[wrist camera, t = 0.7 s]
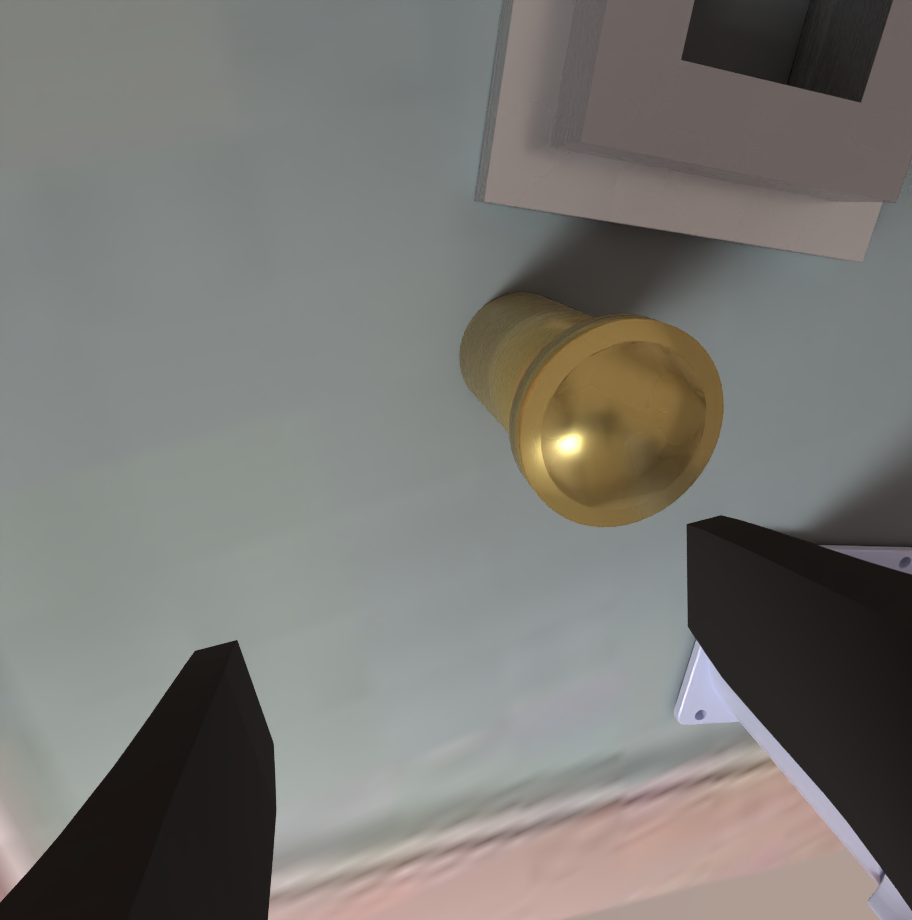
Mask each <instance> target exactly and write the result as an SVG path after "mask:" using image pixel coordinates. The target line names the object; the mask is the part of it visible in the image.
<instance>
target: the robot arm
mask: <svg viewBox="0 0 912 920" xmlns="http://www.w3.org/2000/svg"><path fill="white" fill-rule="evenodd" d="M687 591H688V627H689V629H690V631H691V632H692V634H693V635H694V637H695V638H696V642H695V645H694V649H693V652H692V655H691V658H690V661H689V664H688V668H687V671H686V674H685V677H684V680H683V683H682V687H681V690H680V693H679V696H678V699H677V702H676V706H675V709H674V716H675V717H676V719H677V720H678V722H679V723H681V724H684V725H690V724H707V723H724V722H740V723H741V724H742V725H743V726H744V727H745V728H746V730H747V731H748V732H749V733H750V734H751V736H752V737H753V738H754V739H755V740H756V741H757V743H758V744H759V745H760V746H761V747H762V748H763V750H764V751H765V752H766V753H767V754H768V756H769V757H770V758H771V759H772V760H773V761H774V763H775V764H776V765H777V766H778V767H779V769H780V770H781V771H782V772H783V773H784V774H785V776H786V777H787V778H788V779H789V780H790V782H791V783H792V784H793V785H794V786H795V787H796V789H797V790H798V791H799V792H800V793H801V795H802V796H803V797H804V798H805V799H806V800H807V802H808V803H809V804H810V805H811V806H812V808H813V809H814V810H815V811H816V812H817V813H818V815H819V816H820V817H821V818H822V819H823V821H824V822H825V823H826V824H827V825H828V826H829V828H830V829H831V830H832V831H833V832H834V834H835V835H836V836H837V837H838V838H839V839H840V841H841V842H842V843H843V844H844V845H845V846H846V848H847V849H848V850H849V851H850V852H851V854H852V855H853V856H854V857H855V858H856V859H857V861H858V862H859V863H860V864H861V865H862V866H863V868H864V869H865V870H866V871H867V872H868V874H869V875H870V876H871V877H872V878H873V879H874V881H875V882H876V883H877V884H878V885H879V887H878V888H877V890H876V891H875V893H873V895H872V896H871V897H870V898H869V899H868V905H869V906H870V907H871V909H872V910H873V911H874V912H875V914H876V915H877V916H878V917H879V919H880V920H912V547H879V546H836V545H816V544H813V543H809V542H806V541H803V540H800V539H797V538H794V537H791V536H788V535H785V534H782V533H779V532H776V531H773V530H770V529H767V528H764V527H761V526H758V525H755V524H751V523H748V522H745V521H741V520H737V519H734V518H730V517H726V516H717V517H713V518H709V519H705V520H701V521H697V522H694V523H690V524H687ZM275 821H276V785H275V762H274V743H273V740H272V737H271V735H270V732H269V729H268V726H267V723H266V720H265V718H264V715H263V712H262V709H261V706H260V703H259V701H258V698H257V695H256V692H255V689H254V686H253V683H252V681H251V678H250V675H249V672H248V669H247V666H246V664H245V661H244V658H243V655H242V652H241V649H240V646H239V644H238V641H237V640H236V641H232V642H228V643H224V644H220V645H216V646H212V647H209V648H205V649H201V650H197V651H195V652H194V653H193V655H192V656H191V657H190V659H189V660H188V661H187V663H186V664H185V666H184V667H183V669H182V670H181V671H180V673H179V674H178V676H177V677H176V679H175V680H174V681H173V683H172V684H171V686H170V687H169V689H168V690H167V692H166V693H165V695H164V696H163V697H162V699H161V700H160V702H159V703H158V705H157V706H156V708H155V709H154V710H153V712H152V713H151V715H150V716H149V718H148V719H147V721H146V722H145V723H144V725H143V726H142V728H141V729H140V730H139V732H138V733H137V735H136V736H135V737H134V739H133V740H132V742H131V743H130V744H129V746H128V747H127V749H126V750H125V751H124V753H123V754H122V755H121V757H120V758H119V760H118V761H117V762H116V764H115V765H114V767H113V768H112V769H111V770H110V772H109V773H108V774H107V775H106V777H105V778H104V779H103V781H102V782H101V783H100V784H99V786H98V787H97V788H96V790H95V791H94V792H93V793H92V795H91V796H90V797H89V798H88V800H87V801H86V802H85V804H84V805H83V806H82V807H81V809H80V810H79V811H78V812H77V814H76V815H75V816H74V818H73V819H72V820H71V821H70V823H69V824H68V825H67V827H66V828H65V829H64V830H63V832H62V833H61V834H60V835H59V836H58V838H57V839H56V840H55V841H54V842H53V844H52V845H51V846H50V847H49V848H48V850H47V851H46V852H45V853H44V854H43V855H42V856H41V858H40V859H39V860H38V861H37V862H36V863H35V865H34V866H33V867H32V868H31V869H30V870H29V871H28V873H27V874H26V875H25V876H24V877H23V878H22V879H21V880H20V881H19V883H18V884H17V885H16V886H15V887H14V888H13V889H12V890H11V891H10V892H9V894H8V895H7V896H6V897H5V898H4V899H3V900H2V901H1V902H0V920H268V909H269V897H270V885H271V873H272V861H273V848H274V835H275Z"/></svg>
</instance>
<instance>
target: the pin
mask: <svg viewBox="0 0 912 920" xmlns="http://www.w3.org/2000/svg"><path fill="white" fill-rule="evenodd" d="M460 367H461V372H462V375H463V378H464V380H465V383H466V385H467V386H468V388H469V389H470V391H471V392H472V393H473V394H474V396H475V397H476V398H477V399H478V400H479V401H480V402H481V403H482V404H483V406H484V407H485V408H486V409H487V410H488V411H489V412H490V413H491V414H492V416H493V417H494V418H495V419H496V420H497V421H498V422H499V423H500V424H501V426H502V427H503V428H504V429H505V430H506V431H507V432H508V433H509V434H510V442H511V449H512V452H513V455H514V459H515V462H516V464H517V466H518V468H519V470H520V472H521V473H522V475H523V476H524V478H525V479H526V481H527V482H528V483H529V485H530V486H531V487H532V488H533V490H534V491H535V492H536V493H537V495H538V496H539V497H540V498H541V499H542V500H543V501H544V502H545V503H546V505H547V506H549V507H550V508H551V509H552V510H554V511H555V512H556V513H558V514H559V515H561V516H563V517H565V518H566V519H569V520H571V521H574V522H576V523H579V524H584V525H588V526H596V527H615V526H621V525H627V524H631V523H634V522H638V521H640V520H643V519H645V518H648V517H650V516H652V515H654V514H656V513H658V512H659V511H661V510H663V509H664V508H666V507H667V506H669V505H670V504H672V503H673V502H674V501H676V500H677V499H678V498H679V497H680V496H681V495H683V494H684V493H685V492H686V491H687V490H688V488H689V487H690V486H691V485H692V484H693V483H694V482H695V481H696V479H697V478H698V477H699V475H700V474H701V473H702V471H703V470H704V468H705V466H706V465H707V463H708V461H709V459H710V457H711V455H712V453H713V451H714V449H715V446H716V443H717V441H718V438H719V434H720V430H721V426H722V419H723V410H724V409H723V391H722V385H721V381H720V378H719V374H718V371H717V369H716V367H715V365H714V363H713V361H712V359H711V358H710V356H709V355H708V353H707V352H706V350H705V349H704V348H703V347H702V346H701V345H700V344H699V343H698V341H696V340H695V339H694V338H693V337H691V336H690V335H689V334H687V333H686V332H684V331H682V330H680V329H678V328H676V327H674V326H671V325H668V324H666V323H663V322H660V321H657V320H654V319H651V318H648V317H645V316H641V315H636V314H627V313H615V314H605V315H601V316H597V317H593V316H590V315H588V314H585V313H583V312H580V311H578V310H576V309H573V308H571V307H568V306H566V305H563V304H561V303H558V302H556V301H553V300H551V299H549V298H546V297H544V296H541V295H538V294H534V293H528V292H517V293H511V294H506V295H503V296H501V297H498V298H496V299H494V300H492V301H491V302H489V303H488V304H486V305H485V306H484V307H483V308H482V309H481V310H479V311H478V312H477V314H476V315H475V316H474V317H473V319H472V320H471V322H470V323H469V325H468V327H467V329H466V331H465V333H464V336H463V339H462V342H461V347H460Z"/></svg>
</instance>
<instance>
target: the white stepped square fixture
mask: <svg viewBox="0 0 912 920" xmlns="http://www.w3.org/2000/svg"><path fill="white" fill-rule="evenodd" d="M694 1H695V0H503V4H502V11H501V18H500V25H499V32H498V40H497V47H496V54H495V61H494V68H493V75H492V82H491V89H490V96H489V103H488V110H487V117H486V124H485V131H484V138H483V145H482V152H481V159H480V166H479V174H478V181H477V188H476V195H475V201H478V202H485V203H491V204H497V205H503V206H509V207H516V208H522V209H528V210H534V211H541V212H547V213H553V214H559V215H566V216H572V217H578V218H584V219H590V220H597V221H603V222H609V223H615V224H622V225H628V226H634V227H640V228H647V229H653V230H659V231H665V232H671V233H678V234H684V235H690V236H696V237H703V238H709V239H715V240H721V241H728V242H734V243H740V244H746V245H752V246H759V247H765V248H771V249H777V250H784V251H790V252H796V253H802V254H809V255H815V256H821V257H827V258H833V259H840V260H849V261H857V262H863V259H864V256H865V253H866V250H867V247H868V245H869V242H870V239H871V236H872V233H873V230H874V227H875V224H876V221H877V218H878V215H879V212H880V209H881V206H882V203H883V202H888V203H896V201H897V198H898V195H899V192H900V190H901V187H902V184H903V181H904V178H905V175H906V172H907V169H908V166H909V164H910V161H911V158H912V0H811V3H810V6H809V10H808V14H807V17H806V21H805V24H804V28H803V32H802V35H801V39H800V43H799V46H798V50H797V53H796V57H795V61H794V64H793V68H792V71H791V75H790V79H789V82H788V85H784V84H780V83H776V82H772V81H767V80H763V79H759V78H755V77H751V76H747V75H742V74H738V73H734V72H730V71H726V70H721V69H717V68H713V67H709V66H705V65H700V64H696V63H692V62H688V61H684V60H681V58H682V54H683V49H684V45H685V40H686V36H687V32H688V27H689V23H690V18H691V14H692V9H693V5H694Z"/></svg>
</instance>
